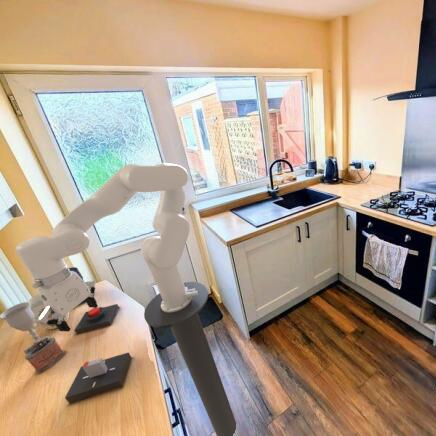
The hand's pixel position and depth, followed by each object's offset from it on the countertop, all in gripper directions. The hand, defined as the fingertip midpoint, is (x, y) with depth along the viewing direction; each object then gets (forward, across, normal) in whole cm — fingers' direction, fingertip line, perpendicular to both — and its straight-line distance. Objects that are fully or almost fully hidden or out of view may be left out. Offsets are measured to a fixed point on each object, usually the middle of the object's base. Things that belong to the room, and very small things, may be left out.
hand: (80, 318), depth 80 cm
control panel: (+16, -9, -10) cm, 21 cm away
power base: (+16, +13, +14) cm, 25 cm away
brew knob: (+13, -9, -10) cm, 19 cm away
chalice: (+16, 0, +27) cm, 32 cm away
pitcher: (+16, +9, +33) cm, 38 cm away
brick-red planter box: (+16, -6, +15) cm, 23 cm away
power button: (+13, +13, +14) cm, 23 cm away
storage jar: (+16, +23, +36) cm, 46 cm away
